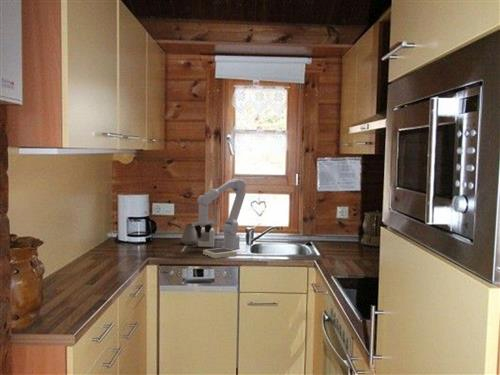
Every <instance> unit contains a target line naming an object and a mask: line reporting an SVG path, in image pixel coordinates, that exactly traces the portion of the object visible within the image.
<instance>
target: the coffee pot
mask: <svg viewBox="0 0 500 375" xmlns="http://www.w3.org/2000/svg"><path fill="white" fill-rule="evenodd" d="M168 225H169V227H171V226H174V227H177V228H179V229H182V230H184V232H183V233H182V236H181V238H180V242H181V243H183V245H185V246H191V245H192V246H193V245H196V243H197V244H198V240H196V229H195V227H193V226H192V223H185V224H184V226H185V227H183V226H180V225H178V224H175V223H173V222H170V223H169V224H168Z"/></svg>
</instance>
